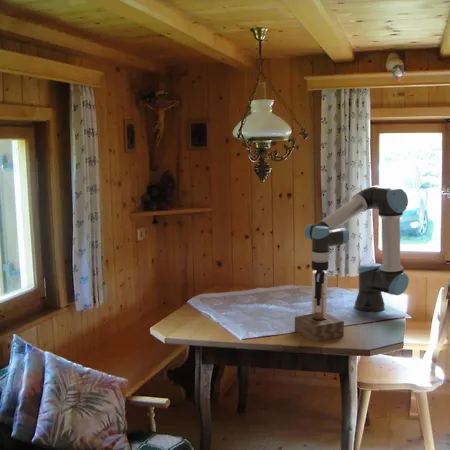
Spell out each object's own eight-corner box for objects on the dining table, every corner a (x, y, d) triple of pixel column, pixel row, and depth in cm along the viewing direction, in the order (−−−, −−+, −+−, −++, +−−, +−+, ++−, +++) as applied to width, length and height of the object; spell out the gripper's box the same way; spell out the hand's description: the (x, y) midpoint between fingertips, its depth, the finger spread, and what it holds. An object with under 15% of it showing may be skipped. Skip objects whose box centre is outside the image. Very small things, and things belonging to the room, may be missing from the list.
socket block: (322, 325, 304) (323, 311, 302) (343, 336, 289) (343, 321, 288) (294, 331, 296) (294, 316, 295) (314, 341, 282) (314, 326, 281)
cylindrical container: (326, 324, 306) (327, 274, 301) (311, 323, 307) (311, 273, 303) (326, 319, 312) (327, 270, 308) (312, 319, 314) (312, 269, 310)
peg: (319, 316, 294) (320, 282, 292) (324, 318, 291) (325, 284, 288) (312, 317, 292) (313, 283, 290) (317, 319, 289) (318, 285, 286)
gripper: (314, 256, 296) (313, 304, 300) (308, 264, 280) (308, 315, 284) (330, 257, 294) (329, 305, 298) (326, 265, 278) (324, 316, 282)
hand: (319, 310), depth 291 cm, fingers closed on peg, 4 cm apart
